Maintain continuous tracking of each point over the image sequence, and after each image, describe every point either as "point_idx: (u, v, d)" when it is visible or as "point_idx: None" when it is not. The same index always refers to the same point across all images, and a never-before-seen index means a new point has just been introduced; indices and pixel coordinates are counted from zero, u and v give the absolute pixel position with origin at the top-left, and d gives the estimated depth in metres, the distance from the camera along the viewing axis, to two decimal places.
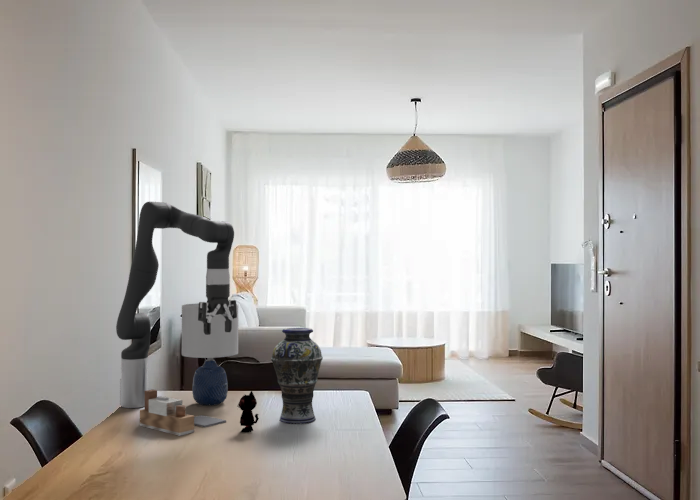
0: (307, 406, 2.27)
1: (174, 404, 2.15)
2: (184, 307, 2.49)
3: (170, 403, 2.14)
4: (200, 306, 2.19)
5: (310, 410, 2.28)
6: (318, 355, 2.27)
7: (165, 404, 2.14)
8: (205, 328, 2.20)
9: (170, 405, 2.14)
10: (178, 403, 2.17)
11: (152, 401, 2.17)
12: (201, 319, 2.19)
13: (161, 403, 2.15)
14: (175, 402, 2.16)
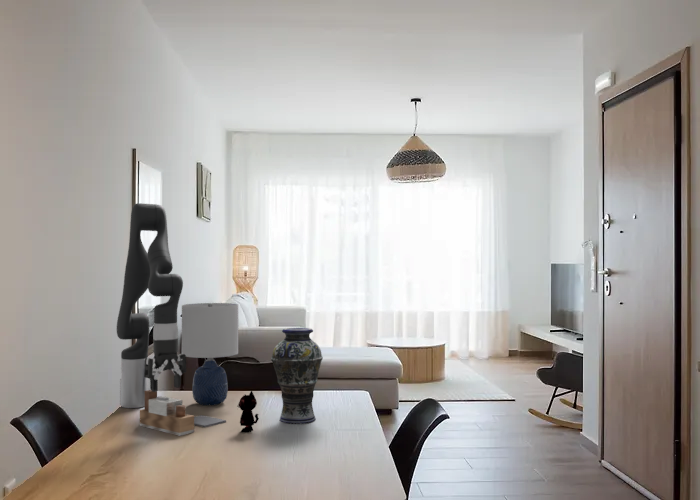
0: (307, 406, 2.27)
1: (174, 404, 2.15)
2: (184, 307, 2.49)
3: (170, 403, 2.14)
4: (146, 362, 2.13)
5: (310, 410, 2.28)
6: (318, 355, 2.27)
7: (165, 404, 2.14)
8: (152, 385, 2.14)
9: (170, 405, 2.14)
10: (178, 403, 2.17)
11: (152, 401, 2.17)
12: (147, 376, 2.12)
13: (161, 403, 2.15)
14: (175, 402, 2.16)
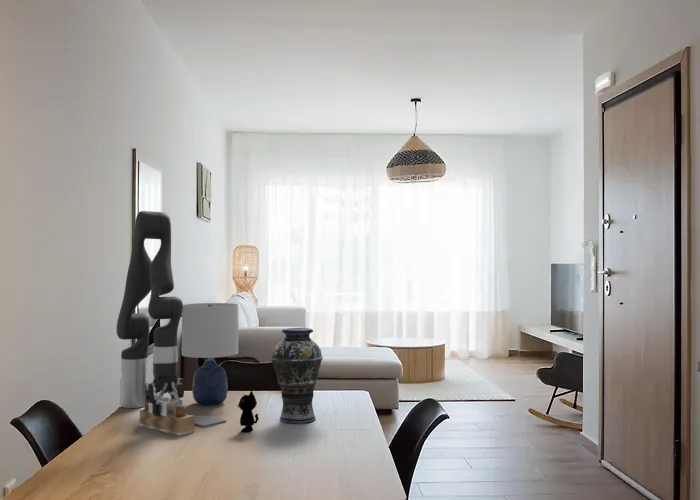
0: (307, 406, 2.27)
1: (174, 404, 2.15)
2: (184, 307, 2.49)
3: (170, 403, 2.14)
4: (146, 388, 2.13)
5: (310, 410, 2.28)
6: (318, 355, 2.27)
7: (165, 404, 2.14)
8: (154, 410, 2.15)
9: (170, 405, 2.14)
10: (178, 403, 2.17)
11: None
12: (149, 401, 2.13)
13: (161, 403, 2.15)
14: (175, 402, 2.16)
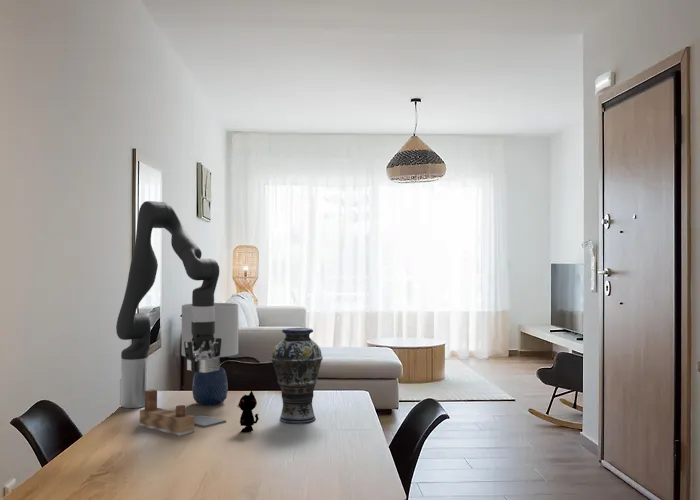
0: (307, 406, 2.27)
1: (212, 362, 2.24)
2: (184, 307, 2.49)
3: (208, 360, 2.23)
4: (186, 346, 2.22)
5: (310, 410, 2.28)
6: (319, 355, 2.27)
7: (203, 361, 2.22)
8: (193, 367, 2.24)
9: (208, 362, 2.23)
10: (216, 361, 2.25)
11: None
12: (189, 358, 2.22)
13: (200, 360, 2.23)
14: (213, 359, 2.25)
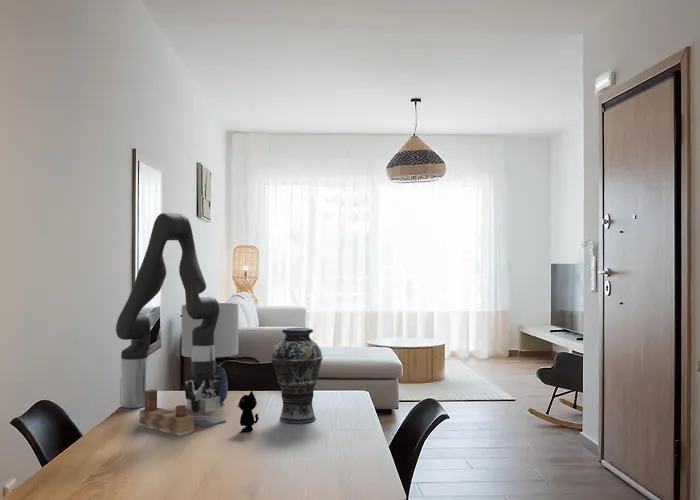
0: (307, 406, 2.27)
1: (212, 401, 2.24)
2: (184, 307, 2.49)
3: (209, 400, 2.23)
4: (186, 386, 2.22)
5: (310, 410, 2.28)
6: (319, 355, 2.27)
7: (204, 401, 2.22)
8: (193, 406, 2.23)
9: (209, 402, 2.23)
10: (216, 400, 2.25)
11: None
12: (189, 398, 2.22)
13: (200, 400, 2.23)
14: (213, 399, 2.24)
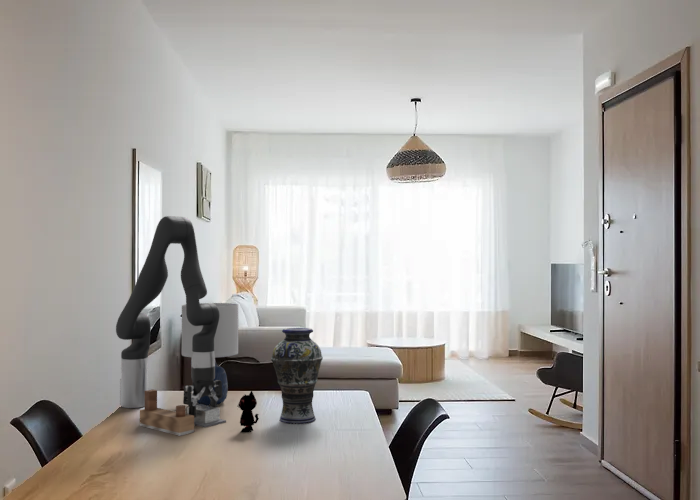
0: (307, 406, 2.27)
1: (212, 412, 2.24)
2: (184, 307, 2.49)
3: (208, 411, 2.23)
4: (185, 390, 2.22)
5: (310, 410, 2.28)
6: (318, 355, 2.27)
7: (203, 412, 2.22)
8: (190, 411, 2.23)
9: (208, 413, 2.23)
10: (216, 411, 2.25)
11: None
12: (186, 403, 2.21)
13: (200, 411, 2.23)
14: (213, 410, 2.25)
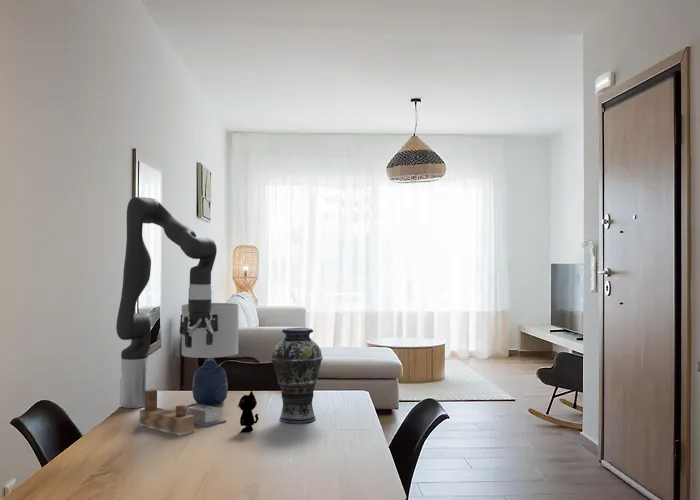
0: (307, 406, 2.27)
1: (212, 412, 2.24)
2: (184, 307, 2.49)
3: (208, 411, 2.23)
4: (182, 320, 2.28)
5: (310, 410, 2.28)
6: (319, 355, 2.27)
7: (203, 412, 2.22)
8: (186, 341, 2.29)
9: (208, 413, 2.23)
10: (216, 411, 2.25)
11: (190, 409, 2.26)
12: (182, 333, 2.27)
13: (200, 411, 2.23)
14: (213, 410, 2.25)
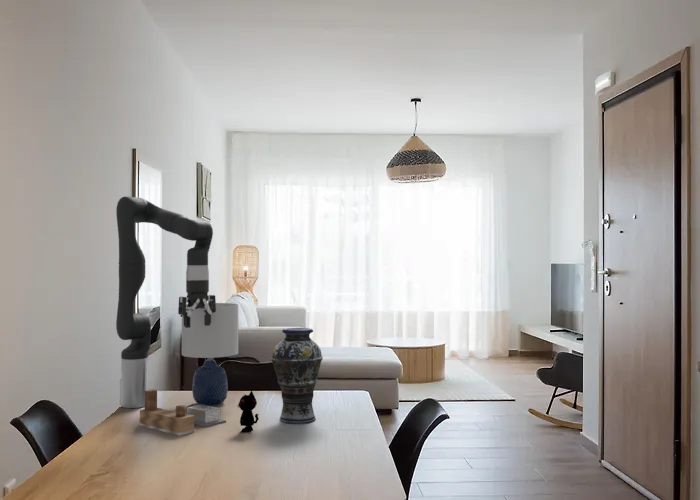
0: (307, 406, 2.27)
1: (212, 412, 2.24)
2: None
3: (208, 411, 2.23)
4: (180, 300, 2.31)
5: (310, 410, 2.28)
6: (319, 355, 2.27)
7: (203, 412, 2.22)
8: (185, 321, 2.32)
9: (208, 413, 2.23)
10: (216, 411, 2.25)
11: (190, 409, 2.26)
12: (181, 313, 2.31)
13: (200, 411, 2.23)
14: (213, 410, 2.25)
